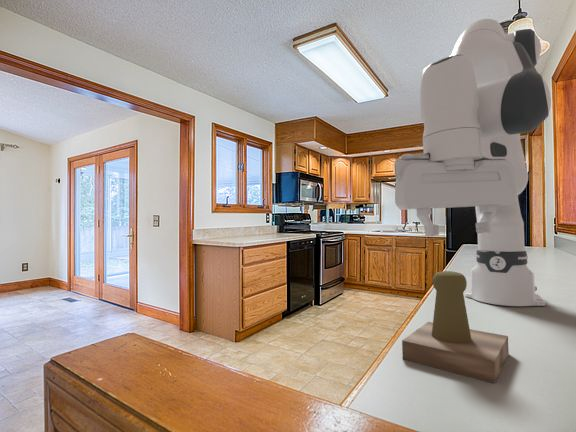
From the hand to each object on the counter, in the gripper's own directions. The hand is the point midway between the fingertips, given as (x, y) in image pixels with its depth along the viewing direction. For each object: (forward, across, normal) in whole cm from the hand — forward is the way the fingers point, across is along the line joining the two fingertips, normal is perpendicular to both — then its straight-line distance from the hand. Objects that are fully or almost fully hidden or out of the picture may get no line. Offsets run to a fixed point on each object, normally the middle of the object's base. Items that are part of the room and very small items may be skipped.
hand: (458, 234), depth 54 cm
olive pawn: (+18, -2, +2) cm, 18 cm away
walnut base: (+20, -1, +1) cm, 20 cm away
